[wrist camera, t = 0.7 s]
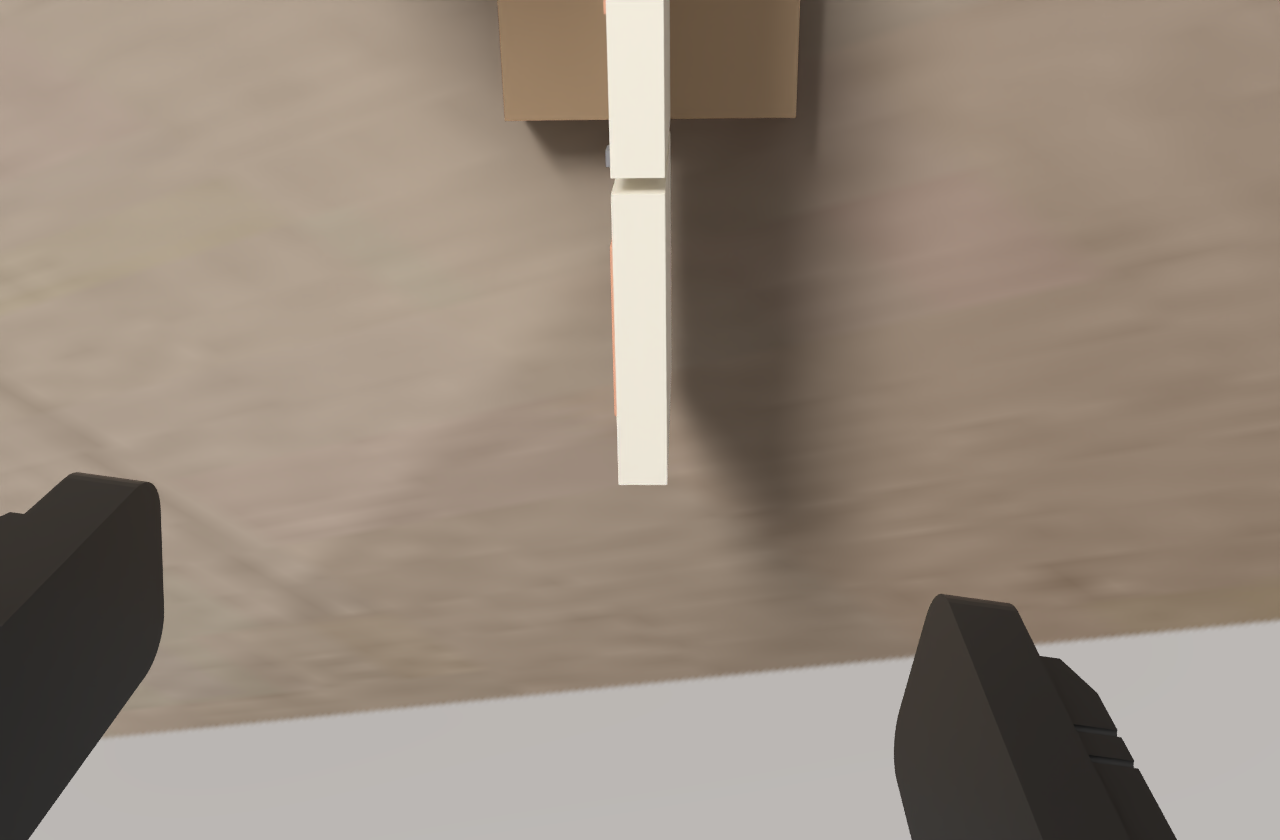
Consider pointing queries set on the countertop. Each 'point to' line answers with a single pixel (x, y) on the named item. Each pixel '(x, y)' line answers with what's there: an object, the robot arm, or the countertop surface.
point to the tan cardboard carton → (647, 67)
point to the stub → (642, 325)
